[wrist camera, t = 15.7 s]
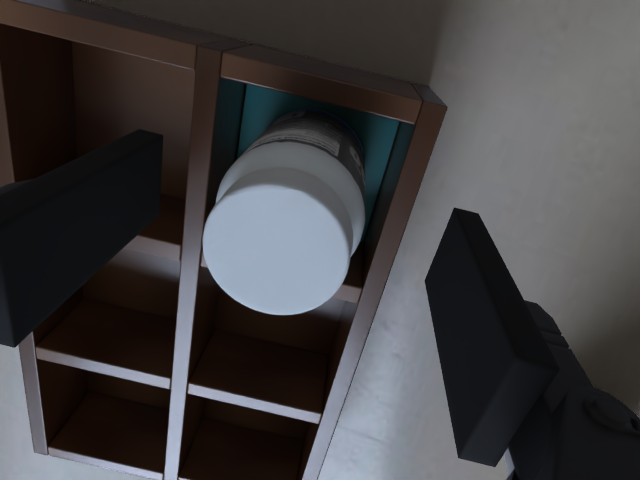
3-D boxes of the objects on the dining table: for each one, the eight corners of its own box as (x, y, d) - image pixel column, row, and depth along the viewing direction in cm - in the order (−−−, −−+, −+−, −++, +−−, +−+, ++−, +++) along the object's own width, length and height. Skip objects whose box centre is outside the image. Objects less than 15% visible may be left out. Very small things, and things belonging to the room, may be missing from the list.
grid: (429, 86, 18) (448, 106, 14) (314, 443, 28) (305, 515, 24) (59, -6, 17) (-35, -13, 13) (82, 389, 28) (33, 452, 24)
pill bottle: (357, 218, 20) (351, 339, 12) (255, 205, 20) (189, 316, 13) (373, 113, 18) (379, 182, 10) (259, 99, 18) (182, 157, 10)
